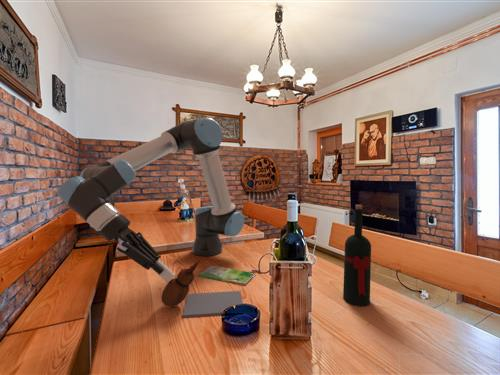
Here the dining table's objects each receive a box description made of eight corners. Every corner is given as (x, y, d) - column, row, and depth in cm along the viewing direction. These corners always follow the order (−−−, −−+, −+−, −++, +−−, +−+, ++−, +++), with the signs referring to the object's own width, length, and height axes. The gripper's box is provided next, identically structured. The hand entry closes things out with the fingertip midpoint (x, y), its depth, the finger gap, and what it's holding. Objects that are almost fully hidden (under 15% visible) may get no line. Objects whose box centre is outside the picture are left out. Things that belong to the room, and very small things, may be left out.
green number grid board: (245, 287, 86) (256, 276, 95) (245, 283, 86) (256, 272, 95) (198, 277, 94) (212, 268, 103) (198, 274, 94) (212, 265, 103)
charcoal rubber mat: (182, 317, 67) (182, 315, 67) (188, 295, 79) (188, 293, 79) (243, 313, 69) (243, 311, 69) (240, 292, 81) (240, 290, 81)
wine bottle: (347, 309, 71) (350, 207, 69) (340, 292, 81) (342, 203, 79) (376, 312, 69) (379, 208, 68) (365, 294, 79) (368, 203, 78)
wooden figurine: (173, 295, 76) (200, 256, 76) (180, 309, 72) (209, 269, 72) (154, 295, 71) (183, 253, 71) (162, 310, 67) (192, 266, 67)
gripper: (111, 227, 75) (167, 278, 77) (87, 237, 62) (155, 298, 64) (128, 210, 75) (184, 261, 78) (109, 216, 62) (176, 278, 65)
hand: (171, 278), depth 71 cm, fingers closed
